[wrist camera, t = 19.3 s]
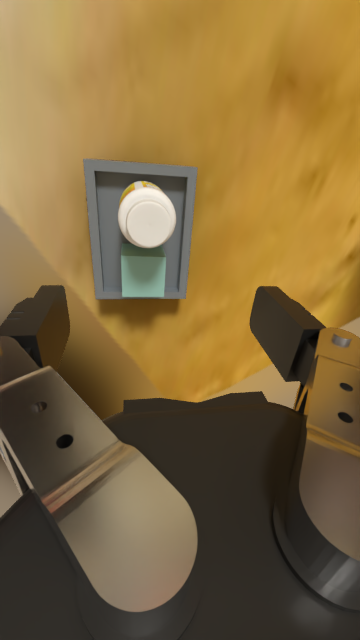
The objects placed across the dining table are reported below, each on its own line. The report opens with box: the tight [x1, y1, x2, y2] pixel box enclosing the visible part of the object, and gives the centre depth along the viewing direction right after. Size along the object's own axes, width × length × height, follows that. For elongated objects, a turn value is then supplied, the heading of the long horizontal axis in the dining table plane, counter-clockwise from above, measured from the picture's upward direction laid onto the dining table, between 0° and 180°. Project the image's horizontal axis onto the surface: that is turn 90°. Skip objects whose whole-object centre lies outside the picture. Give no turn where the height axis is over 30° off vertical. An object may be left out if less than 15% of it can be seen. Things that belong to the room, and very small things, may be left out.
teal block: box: [121, 243, 166, 297], centre depth 35 cm, size 5×5×5 cm
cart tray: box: [83, 158, 197, 299], centre depth 35 cm, size 12×16×4 cm
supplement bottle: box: [118, 181, 176, 248], centre depth 29 cm, size 6×6×10 cm
